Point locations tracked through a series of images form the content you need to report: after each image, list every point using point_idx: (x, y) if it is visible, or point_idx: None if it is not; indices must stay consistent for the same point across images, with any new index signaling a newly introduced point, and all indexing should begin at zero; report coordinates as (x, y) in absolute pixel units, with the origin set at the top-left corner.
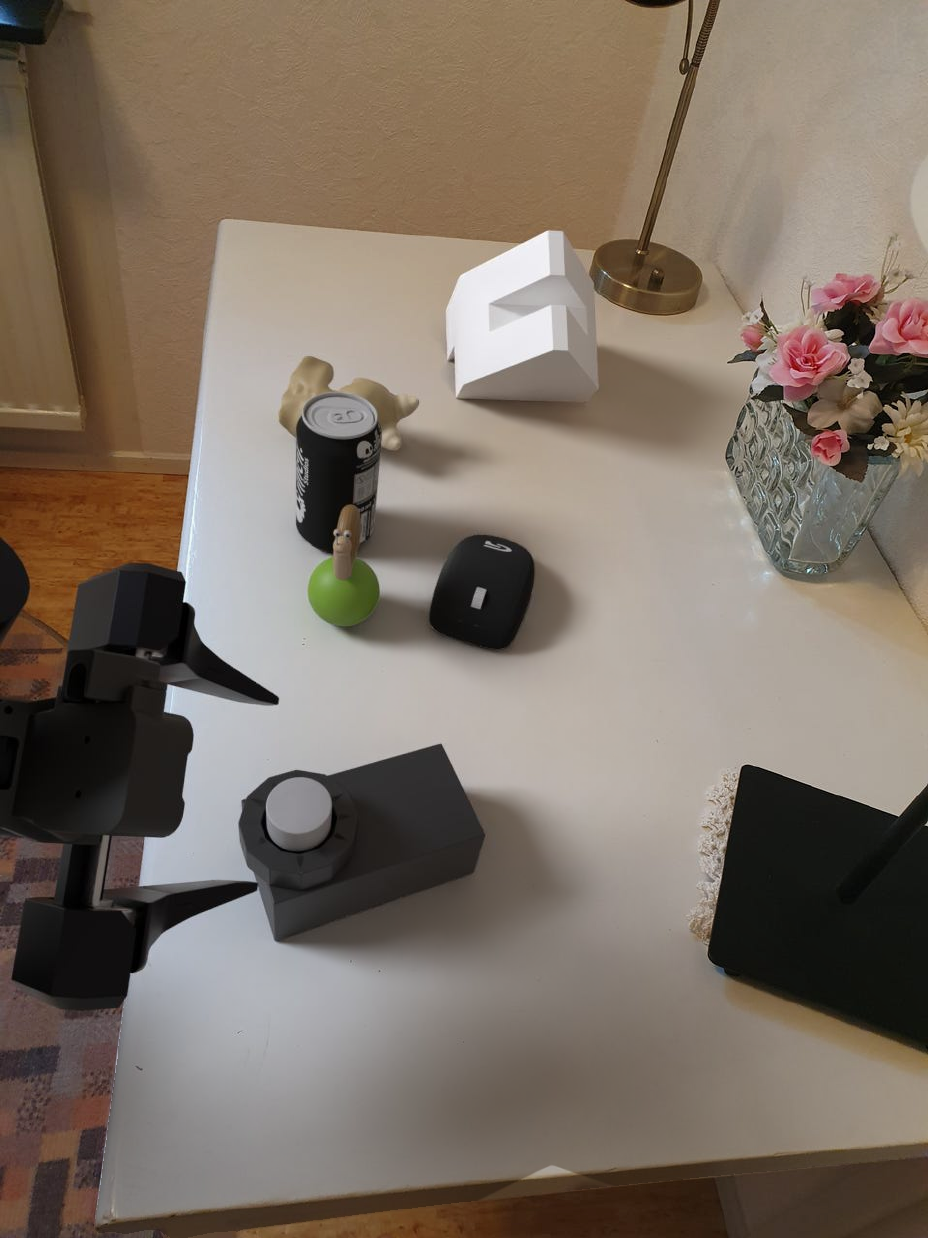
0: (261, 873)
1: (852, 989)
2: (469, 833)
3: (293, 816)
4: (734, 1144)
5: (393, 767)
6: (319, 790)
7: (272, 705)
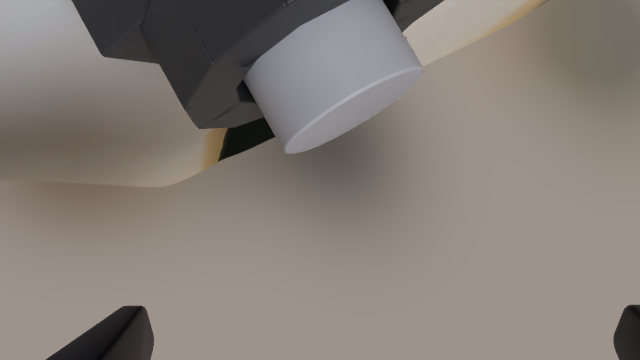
0: (162, 40)
1: (241, 141)
2: None
3: (325, 129)
4: (108, 183)
5: None
6: (388, 103)
7: (620, 322)
